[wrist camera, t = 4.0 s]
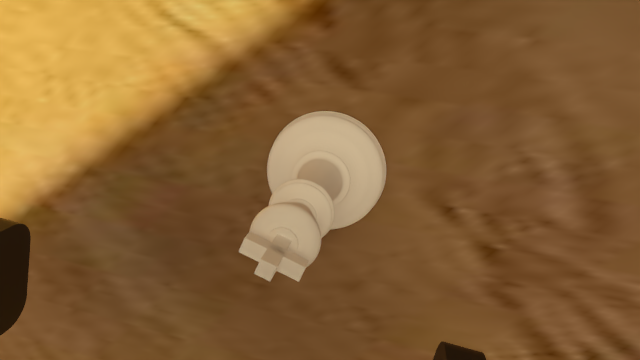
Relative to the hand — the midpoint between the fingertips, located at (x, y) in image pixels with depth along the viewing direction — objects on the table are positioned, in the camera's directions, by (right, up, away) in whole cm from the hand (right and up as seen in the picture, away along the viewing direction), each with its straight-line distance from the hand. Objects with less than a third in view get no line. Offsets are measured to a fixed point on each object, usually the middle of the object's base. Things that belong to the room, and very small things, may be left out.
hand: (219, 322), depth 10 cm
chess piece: (+2, +3, +12) cm, 13 cm away
